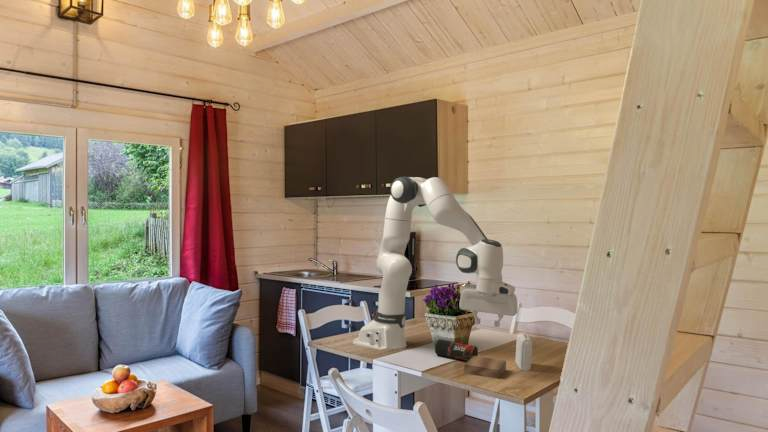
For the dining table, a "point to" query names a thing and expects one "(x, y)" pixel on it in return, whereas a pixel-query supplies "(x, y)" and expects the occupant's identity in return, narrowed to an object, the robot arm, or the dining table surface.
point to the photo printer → (523, 352)
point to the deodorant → (455, 350)
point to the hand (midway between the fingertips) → (487, 325)
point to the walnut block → (485, 367)
